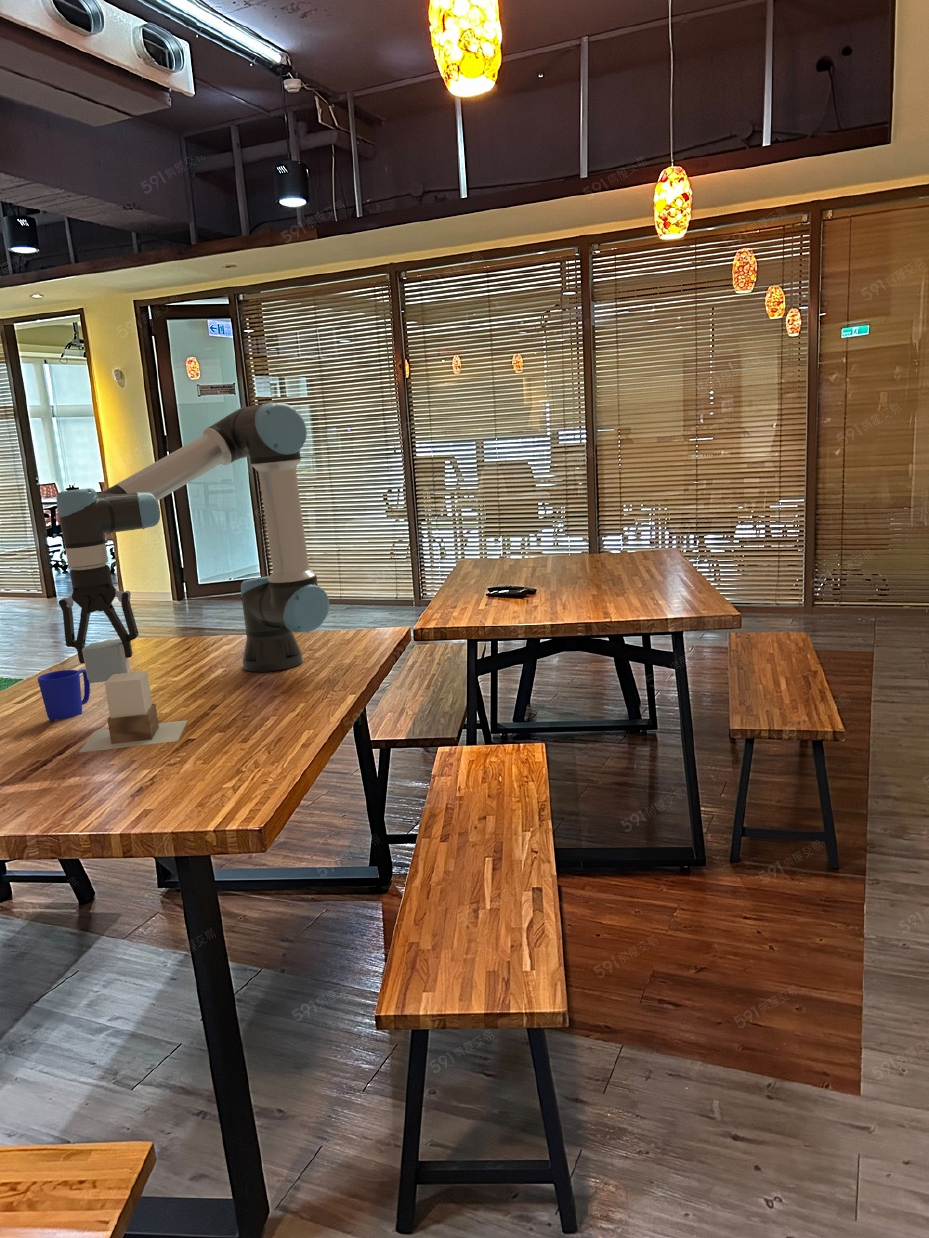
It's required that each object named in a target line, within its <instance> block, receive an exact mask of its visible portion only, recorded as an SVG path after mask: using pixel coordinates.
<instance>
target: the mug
mask: <svg viewBox="0 0 929 1238" xmlns="http://www.w3.org/2000/svg"><path fill="white" fill-rule="evenodd" d="M81 674H82V678H83V687H84V688H83V689H84V693H83V699H82V690H81V689H82V688H81V678H80V677H81V676H80V675H81ZM37 682H38V686H39V690H40V694H41V698H42V701H43V705H44V709H45V712H46V716H47V719H49V720H48V721H50V722H53V723H54V722H55V721H57V720H65V719H69V718H71V719H72V718H75V717H76V716H81V715H82V714H83V706H84V705H85V704H87V703H88V702H89V700H90V696H91V686H90V685H91V683H89V680H88V678H87V673H86V668H85V669H79V670H77V669H63V670H57V671H56V670H55V671H51V672H47V673H44V674H42V675H40V676H38V677H37Z"/></svg>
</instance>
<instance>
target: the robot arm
mask: <svg viewBox="0 0 929 1238" xmlns="http://www.w3.org/2000/svg"><path fill="white" fill-rule="evenodd" d="M304 420H305V419H304V418H303V417H302V415H301V414H300V413H299V411H297V410H296V409H295V408H294V407H292V406H291V405H289V404H287V403H284V402H270V401H269V402H267V403H263V404H258V405H257V404H255V405H248V406H244V407H241V408H239V409H236V410H235V411H233V412H231V413H230V414H227V415H226V416H225V417H223V418H221V419H220V420H218V421H217V422H214V424H212V425H210V426H208V427H207V428H204V430H203V431H202V436H200V437H198V438H195V439H194V440H193V441H191V442H189V443H187V444H185V445H183V446H181V448H180V447H179V448H178V449H177V450H174V451H173V452H171V453H169V454H168V455H165V456H164V457H162V458H160V459H159V460H157V461H155V462H153V463H151V464H149V465H148V466H147V467H144V468H142V469H141V470H139V471H137V472H135V473H134V474H131V475H130V476H128V477H127V478H125V479H123V480H121V481H119V482H117V483H116V484H114V485H113V486H110V487H109V488H106V489H105V490H103V491H101V492H99V493H97V491H96V489H94V488H80V489H79V488H78V489H70V490H63V491H60V492H58V493H57V495H56V507H57V517H58V518H59V523H60V529H61V533H62V537H63V542H64V548H65V549H64V550H65V555H66V559H67V566H68V567H69V568H71V569H70V571H69V575H70V581H71V585H72V594H71V596H68V597H63V598H61V599H60V600H58V605H59V607H60V608H61V611H62V617H63V618H62V619H63V620H62V621H63V629H64V631H63V632H64V641H65V642H64V643H65V646H66V647H67V648H74V649H76V651H77V656H78V657H77V658H78V661H79V662H78V663H80V665H81V664H84V666H85V669H86V673H87V668H86V663H85V657H84V652H83V650H84V649H85V648H86V647H87V646H88V645H86V644H87V643H86V638H87V633H88V628H89V622H90V616H91V614H92V613H94V612H103V614H104V615H105V616H106V617H107V618H108V621H109V622H110V624H111V625H112V628H113V629H114V630H115V633H116V634H117V636H118V637H119V640H121V641H122V642H121V643H120V644H119V649H120V655H121V660H122V666H123V671H124V673H131V666H130V661H129V659H130V658H132V656H133V650H132V645H131V641H133V640H136V639H137V637H139V631H138V630H139V629H138V627H137V622H136V619H135V616H134V613H133V612H134V611H133V609H132V608H133V607H132V605H131V591H130V590H125V591H122V590H121V591H120V590H117V589H116V588H115V585H114V584H113V578H112V574H111V569H110V568H111V567H110V566H109V565H108V562H109V557H108V552H107V546H106V540H105V535H107V534H109V535H110V534H112V533H113V534H114V533H119V532H121V533H122V532H128V531H134V530H141V529H142V530H145V529H147V528H152V527H155V526H157V525H158V524H159V522H160V517H161V509H160V504H159V502H158V501H160V500H161V499H163V498H165V497H167V496H168V495H170V494H172V493H173V492H175V491H177V490H179V489H181V488H182V487H184V486H185V485H187V484H189V483H190V482H192V481H194V480H195V479H197V478H199V477H200V476H202V475H204V474H206V473H207V472H209V471H211V470H213V469H214V468H216V467H217V466H219V465H222V466H228V465H229V464H232V463H233V462H235V461H238V460H240V459H244V458H249V463H250V466H251V467H252V468H254V469H255V470H256V471H257V472H258V476H259V477H258V478H259V484H260V490H261V496H262V497H261V499H262V505H263V510H264V511H263V512H264V517H265V525H266V530H267V531H266V532H267V538H268V544H269V545H268V546H269V553H270V559H271V567H272V574H271V575H267V576H262V577H255V578H250V579H246V580H243V581H242V582H241V584H240V598H241V602H242V603H241V604H242V609H243V610H242V611H243V618H244V625H245V627H244V628H245V634H246V641H245V645H244V651H243V655H242V667H243V670H245V671H248V672H255V673H265V672H266V673H267V672H268V673H269V672H276V671H282V670H286V669H287V670H288V669H290V668H294V667H297V666H298V665H301V664H302V663H303V661H304V659H303V652H302V649H301V647H300V646H299V643H298V642H297V639H296V637H295V634H294V633H309V632H312V631H313V632H314V631H315V630H317V629H318V628H319V627H320V626H321V625H323V622H324V621H325V620H326V619H327V617H328V614H329V611H330V599H329V597H328V593H327V592H326V591H325V590H324V589H323V588H322V587H321V586H319V585H318V577H317V573H316V572H315V570H312V569H311V568H310V565H309V558H308V551H307V550H308V549H307V545H306V544H307V542H306V537H305V535H306V534H305V528H304V521H303V513H302V507H301V506H302V505H301V501H300V500H301V499H300V493H299V484H298V476H297V469H296V468H297V466H298V465H299V464H300V462H301V459H302V458H301V451H300V450H301V449H302V448H303V447H304V444H305V443H306V440H307V436H308V435H307V426H306V422H305V421H304ZM115 597H117V599H118V602H120V603H121V610H122V612H123V616H124V620H125V623H126V627H127V629H128V630H127V629H126V628H125V626H124V624H123V623H122V621H121V618H120V617H119V615H118V613H117V612H116V610H115V607H114V604H113V602H114V599H115ZM74 602H75V603H76V605H78V606H79V607H80V608H81V609H80V615H79V616H80V617H79V618H80V619H79V625H78V630H77V636H76V637H75V634H76V633H75V625H74V624H75V623H74V615H73V606H74ZM85 645H86V646H85ZM87 678H88V673H87ZM88 680H89V679H88Z"/></svg>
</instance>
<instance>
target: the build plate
mask: <svg viewBox="0 0 929 1238" xmlns="http://www.w3.org/2000/svg"><path fill="white" fill-rule="evenodd" d="M188 721H189V720H188V719H186V720H178V721H176V720H175V721H169V722H168V721H167V722H160V723H159V722H158V724H159V728H158V730H157V732H156V733H155V735H154V737H153V739H151V740H143V741H134V742H126V743H117V744H111V739H110V733H109V728H107V729H98V730H95V731H94V732H93V734H92V735H91V736H90V737H89V739H88V740H87V741H86V743H84V745H83V746H82V747H81V749H80V750H79V752H78V753H88V752H96V751H103V750H105V751H106V750H114V749H120V748H122V749H123V748H130V747H138V746H146V745H147V746H148V745H155V744H156V745H157V744H164V743H171V742H173V743H174V742H178V741H179V740H180V737H181V735H182V733H183V732H184V729H185V727H186V725H187V723H188Z"/></svg>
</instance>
